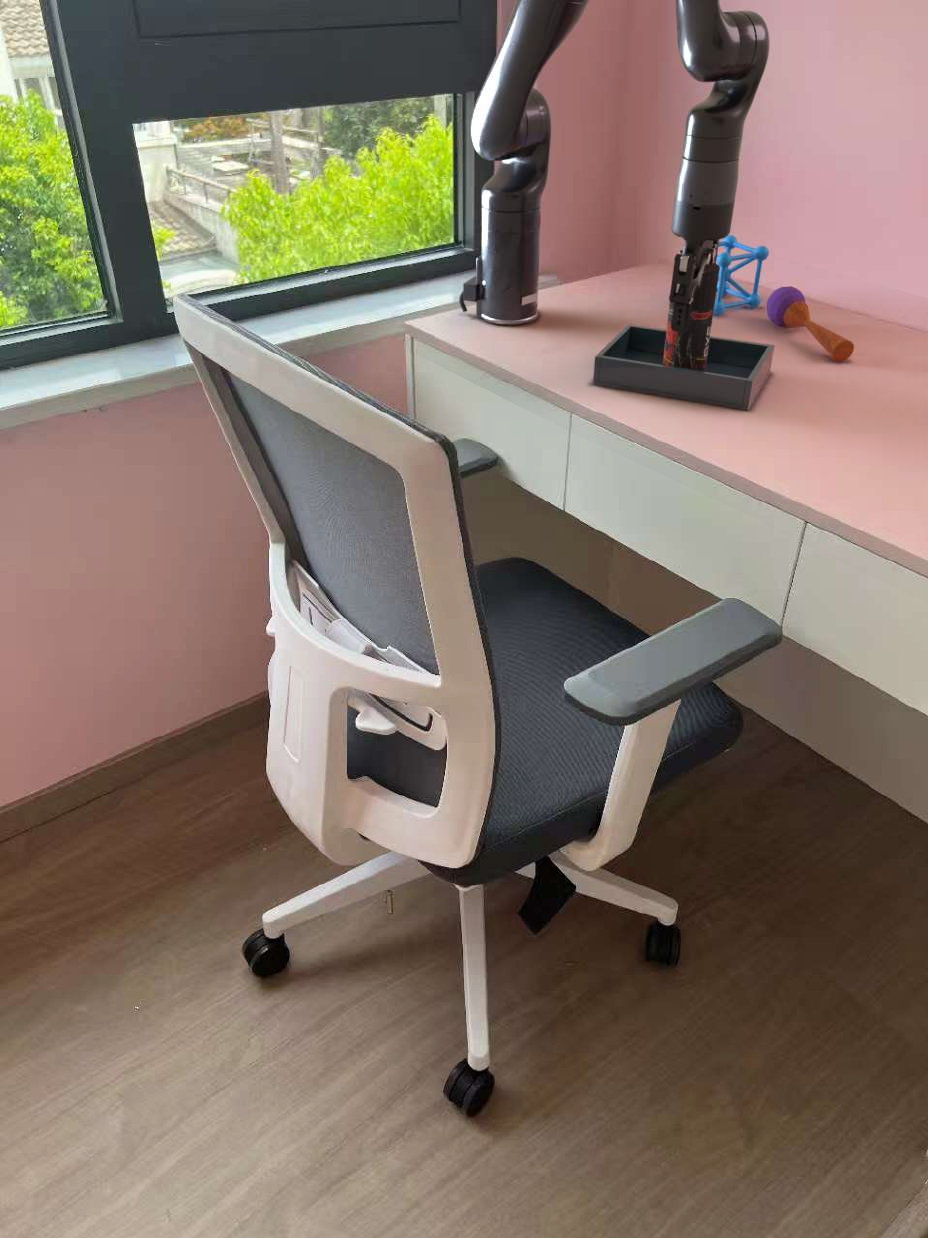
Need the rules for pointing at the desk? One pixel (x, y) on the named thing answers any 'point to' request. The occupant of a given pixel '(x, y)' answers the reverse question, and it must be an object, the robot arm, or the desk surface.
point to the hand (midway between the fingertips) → (688, 321)
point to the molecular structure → (725, 273)
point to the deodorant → (693, 326)
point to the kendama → (805, 321)
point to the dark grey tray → (724, 382)
